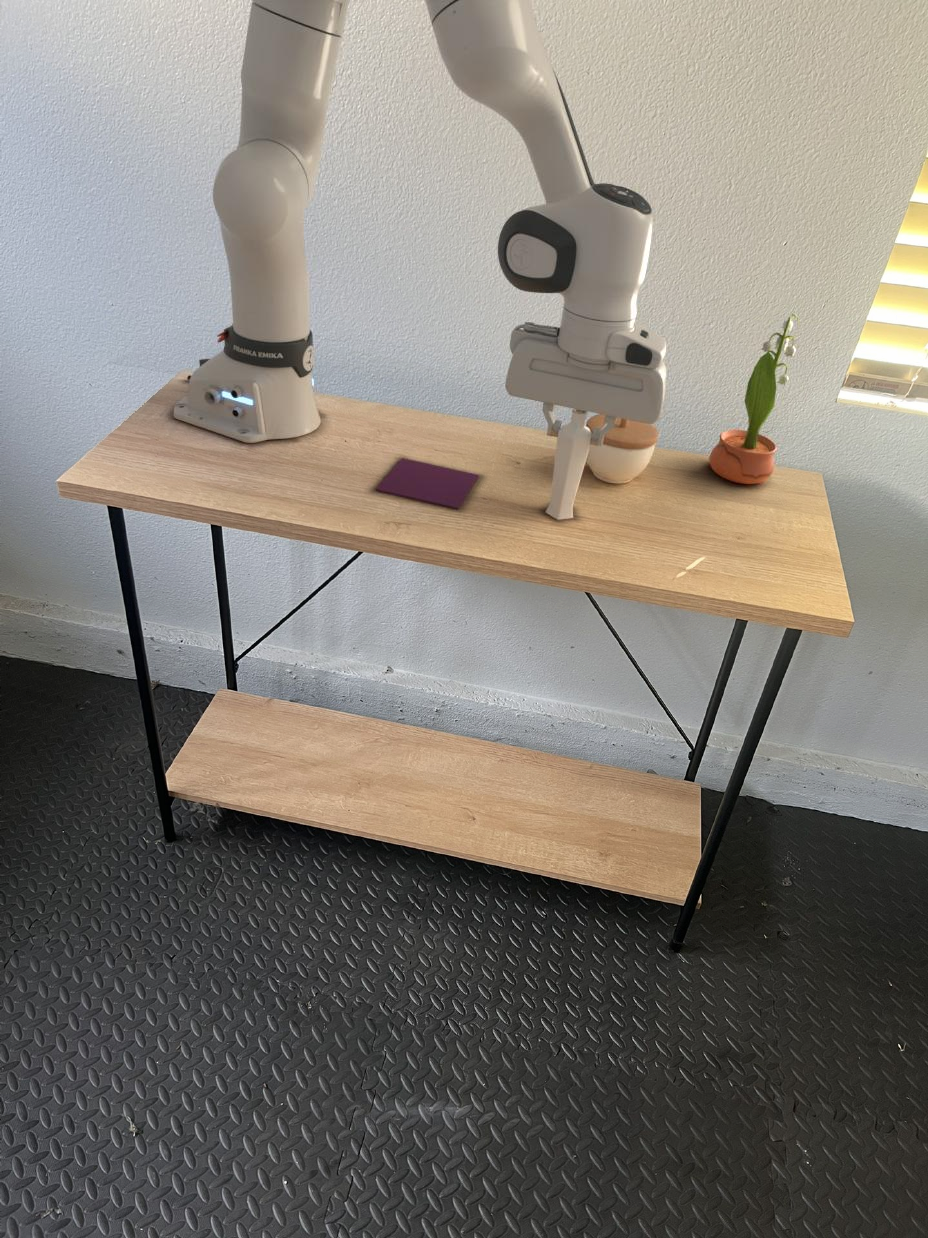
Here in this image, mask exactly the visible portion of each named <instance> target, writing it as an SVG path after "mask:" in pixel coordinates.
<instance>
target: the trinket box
mask: <svg viewBox="0 0 928 1238" xmlns="http://www.w3.org/2000/svg"><path fill="white" fill-rule="evenodd" d="M604 420H605V415H602V414H594V415H592V416H591V417H589V418H588V419H587V421H586V423H585V426H586V427H588V428H589V429H590V431H591V433H592V434H593V431H594V429H595V428H597V429H601V428H602V427H603V426H604V425H605V424H606V423H605V422H604ZM658 439H659V431H658V429H657V428H656V427H655V426H654V424H646V423H641V422H636V421H631V420H627V419H622V418H617V419H616V422H615V425H614V426H613V427H612V428H611V429H610V430H609V431H608V432H607V433H606V434H605V435H604V440H603V443H602V446H601V447H600V446H595V445H590V448H589V451H588V455H587V458H586V464H587V466H588V467H589V469H590V470H591V471H592V474H593V476H594V477H595V478H597V479H598V480H600V481H602V482H605V483H609V484H616V485H617V484H618V485H620V484H621V485H623V484H627V483H629V482H631V481H632V480H633V479H634V478H636V477H638V476H639V475H641V474H642V473H643V471H645V469H646V468H647V466H648V465H649V463H650V461H651V459H652V456H653V454H654V451H655V447H656V444H657V442H658Z"/></svg>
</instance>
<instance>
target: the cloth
mask: <svg viewBox="0 0 928 1238" xmlns="http://www.w3.org/2000/svg"><path fill="white" fill-rule="evenodd" d="M479 478H480V475H479V474H476V473H472V472H468V471H462V470H457V469H454V468H449V467H444V466H440V465H436V464H430V463H426V462H422V461H417V460H413V459H408V458H404V457H402V458H401V459H400V460H399V461H398V462H397V464H396V465H395V466H394V467H393V468H392V469H391V471H390V472H389V473H388V474H387V475H386V476H385V477H384V479H383V480H382V481H381V482H380V483H379V484H378V485H377V486H376V488H375V491H376V492H380V493H385V494H389V495H393V496H398V497H402V498H407V499H410V500H414V501H419V502H423V503H427V504H431V505H437V506H441V507H446V508H450V509H453V510H454V509H455V510H459V509H460V507H461V505H462V504H463V502H464V500H465V499H466V497H467V496H468V494H469V493H470V491H471V490H472V488H473V486H475V484H476V482H477V480H479Z"/></svg>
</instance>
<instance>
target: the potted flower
mask: <svg viewBox="0 0 928 1238" xmlns="http://www.w3.org/2000/svg"><path fill="white" fill-rule="evenodd" d="M793 316H794V317H795V318H796V320H797V326H799V323H800V319H799V317H798V315H797V314H795V313H791V315H790V316H789V317H788V318H787V320H785V321H783V323H782V326H781V329H783V333H782V334H781V333H780V332H774V333H773V334H771V336H770V338H769V340H767V341H764V342H763V344H762V348H761V350H762V351H763V353H765V354H763V355H762V356H760V357H759V359H758V361H757V363H756V364H755V365H754V366H753V367H754V368H753V370H752V372H751V375H750V377H749V380H748V382H747V386H746V391H745V396H744V405H745V408H746V413H747V419H748V426H747V430H745V429H729V430H725V431H722V432H721V433H720V435H719V441H718V443H717V444H716V445H715V446H714V447H713V449H712V450H711V452H710V454H709V457H708V462H709V464H710V468H711V469H712V471H713V472H714V473H716V474H717V475H718V476H719V477H721V478H723V479H724V480H727V481H730V482H733V483H736V484H742V485H754V484H760V483H764V482H765V481H766V480H768V479H769V478H770V477H771V476H772V475H773V474H774V469H775V459H774V454H775V452H776V451H777V449H778V447H777V445H776V443H775V442H774V441H773V440H772V439H771V438H769V437H767V436H765V435H762V434H760V431H761V429H762V427H763V425H764V424H765V423H766V421H767V420H768V418H769V416H770V414H771V413H772V411H773V409H774V408H775V401H776V393H777V384H779V385H782V386H783V385H784V386H787V385H788V382H789V379H790V378H789V376H788V375H787V371H788V364H787V363H786V362H780V363H779V360H780V358H781V355H782V352H783V354H784V355H785V357H791V358H794V356H795V353H796V349H797V348H796V347H795V346H794V344H795V337H794V336H793V335H791V334H790V335H787V334H788V332H791V330H792V328H793V325H794V322H793V321H792V317H793ZM774 336H777V339H776V341H775V344H773V342H772V341H771V340H772V338H773V337H774ZM789 339H791V341H792V344H791V345H788V344H789ZM774 346H775V347H774ZM772 348H773V349H774V350H776V352H775V351H774V350H772ZM773 356H774V357H773ZM783 365H784V366H785V372H784V374H781V375H780V376H779V377H778V381H777V379H776V371H777V368H778V367H780V366H783Z"/></svg>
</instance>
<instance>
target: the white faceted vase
mask: <svg viewBox="0 0 928 1238" xmlns="http://www.w3.org/2000/svg"><path fill="white" fill-rule="evenodd" d="M571 413H572V414H571V417H570V422H568V423H566V424H564V425H563V426H561V427H560V429H559V431H558V437H556V445H555V455H554V464H553V465H554V466H553V475H552V481H551V482H552V483H551V491H550V492H551V493H550V501H549V504H548V506H547V508H546V510H545V513H546V514H548V515H549V516H551V517H552V518H554V519H556V520H559V521H560V520H569V519H573V518H574V513H573V512H574V510H573V509H574V508H573V506H574V503H575V500H576V496H577V493H578V489H579V485H580V482H581V479H582V475H583V472H584V468H585V466H586V463H587V461H586V458H587V455H588V451H589V448H590V445H591V440H592V433H591V431H590V429H589V428H588V427H586V422H587V421H586V420H587V416H588V414H589V412H588V411H583V410H578V409H573V408H572V409H571Z"/></svg>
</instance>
